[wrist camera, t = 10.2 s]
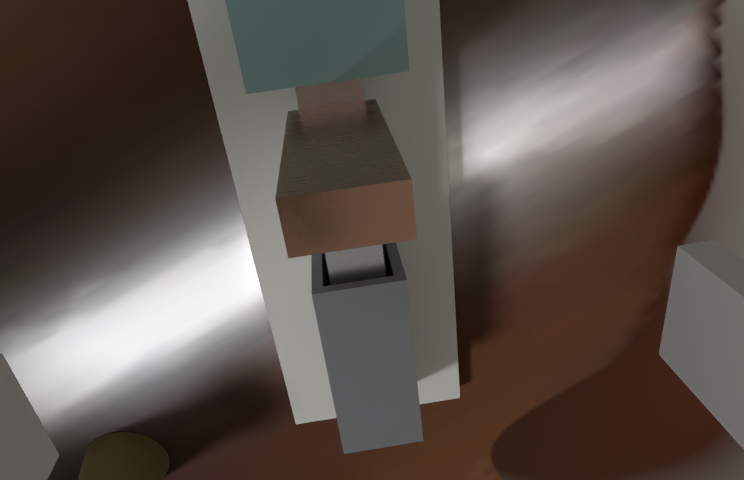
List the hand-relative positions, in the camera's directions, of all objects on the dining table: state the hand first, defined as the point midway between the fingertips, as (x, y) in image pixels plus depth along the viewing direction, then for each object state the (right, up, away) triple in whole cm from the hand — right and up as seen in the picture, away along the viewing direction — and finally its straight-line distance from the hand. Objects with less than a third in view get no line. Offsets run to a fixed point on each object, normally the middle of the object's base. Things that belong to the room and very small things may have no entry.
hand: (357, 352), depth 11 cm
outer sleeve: (0, -3, +25) cm, 25 cm away
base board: (-1, +4, +22) cm, 22 cm away
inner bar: (-1, +6, +18) cm, 19 cm away
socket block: (-2, +14, +16) cm, 22 cm away
